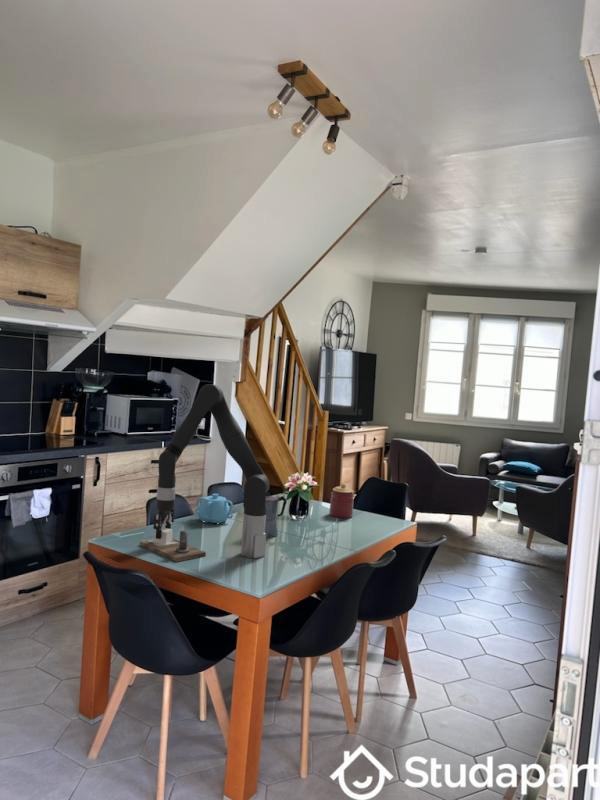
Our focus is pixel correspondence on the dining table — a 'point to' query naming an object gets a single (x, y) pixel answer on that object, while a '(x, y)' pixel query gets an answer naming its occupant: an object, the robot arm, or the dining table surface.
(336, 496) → the canister
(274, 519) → the moka pot
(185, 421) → the robot arm
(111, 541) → the dining table surface
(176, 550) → the post board
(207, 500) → the decorative pot
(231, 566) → the dining table surface
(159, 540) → the white cube
